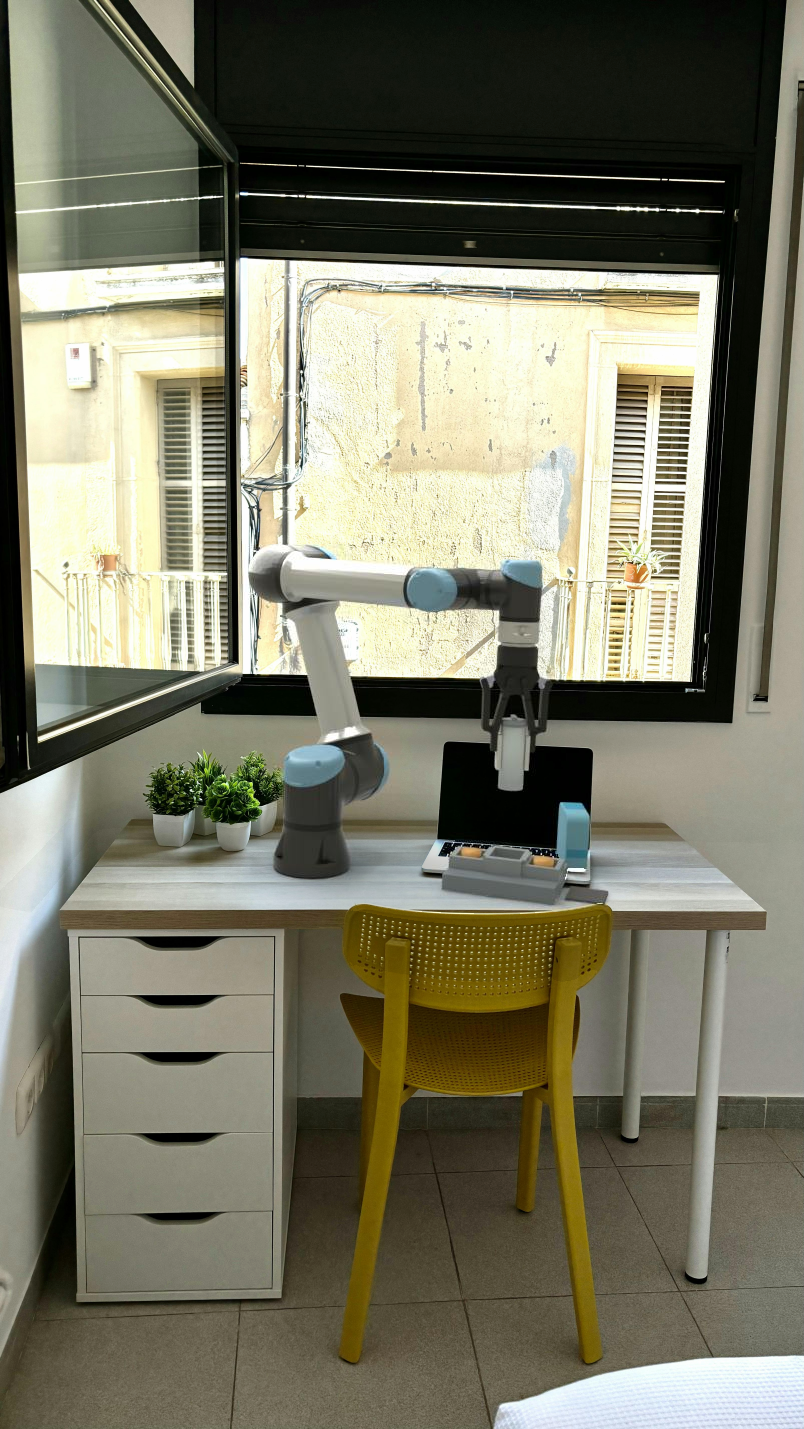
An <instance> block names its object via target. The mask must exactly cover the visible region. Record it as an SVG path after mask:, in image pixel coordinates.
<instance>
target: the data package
mask: <svg viewBox="0 0 804 1429" xmlns="http://www.w3.org/2000/svg"><path fill="white" fill-rule="evenodd" d="M590 819H591V818H590V814H589V813H588V811H587V809H586V808H585V806H584V804H583V803H582V802H560V803H559V807H558V820H557V840H556V855H557V854H558V857H559V859H565V863H567V864H568V868H584V869H586V868H587V869H588V858H589V857H588V855H589V839H590V827H591V826H590V825H591V821H590Z"/></svg>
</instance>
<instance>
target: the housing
mask: <svg viewBox="0 0 804 1429" xmlns="http://www.w3.org/2000/svg"><path fill="white" fill-rule="evenodd" d="M467 847H468V846H461V845H458V846H457V847H456V848H455V849H454V850H453V851H452V852H451V854H449V856H448V867H447V868H446V869H445V871H443V873H442V874H441V875H442V876H441V890H443V891H451V892H457V893H465V894H471V895H472V894H473V895H479V896H486V897H494V898H500V899H501V898H502V899H507V900H516V901H522V902H530V903H537V904H538V903H539V904H543V905H544V904H545V905H551V906H552V905H555V903H556V901H557V899H558V897H559V896H560V893H561V891H562V889H563V887H564V885H565V883H566V881H565V877H566V874H567V875H568V872H567V869H568V864H567V863H565V859H559V858H557V857H552V858H553V859H554V868H553V867H546V866H538V865H533V861H534V857H537V856H538V855H532V851H530V849H525V848H517V847H516V848H515V847H508V846H501V845H493V846H489V847H488V848H487V849H485V848H479V849H480V850H481V858H474V857H466V856H461V852H462V849H463V848H467Z"/></svg>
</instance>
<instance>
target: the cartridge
mask: <svg viewBox="0 0 804 1429" xmlns="http://www.w3.org/2000/svg"><path fill="white" fill-rule="evenodd" d="M500 733H501V735H502V750H501V769H500V770H498V780H497V781H498V783H497V788H498V789H499V790H503V791H509V792H513V791H514V792H517V791H518V792H519V791H522V790H523V788H524V787H523V786H524V756H525V738H526V734H527V720H526V718H522V717H521V718H520V717H518V716H517V715H516V714H510V717H503V718H502V722H501V725H500Z"/></svg>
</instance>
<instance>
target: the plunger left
mask: <svg viewBox="0 0 804 1429" xmlns="http://www.w3.org/2000/svg"><path fill="white" fill-rule="evenodd" d="M466 847H467V848H463V849H462V852H461V856H466V857H474V858H481V850H480V849H481V848H478V847H468V846H466Z"/></svg>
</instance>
